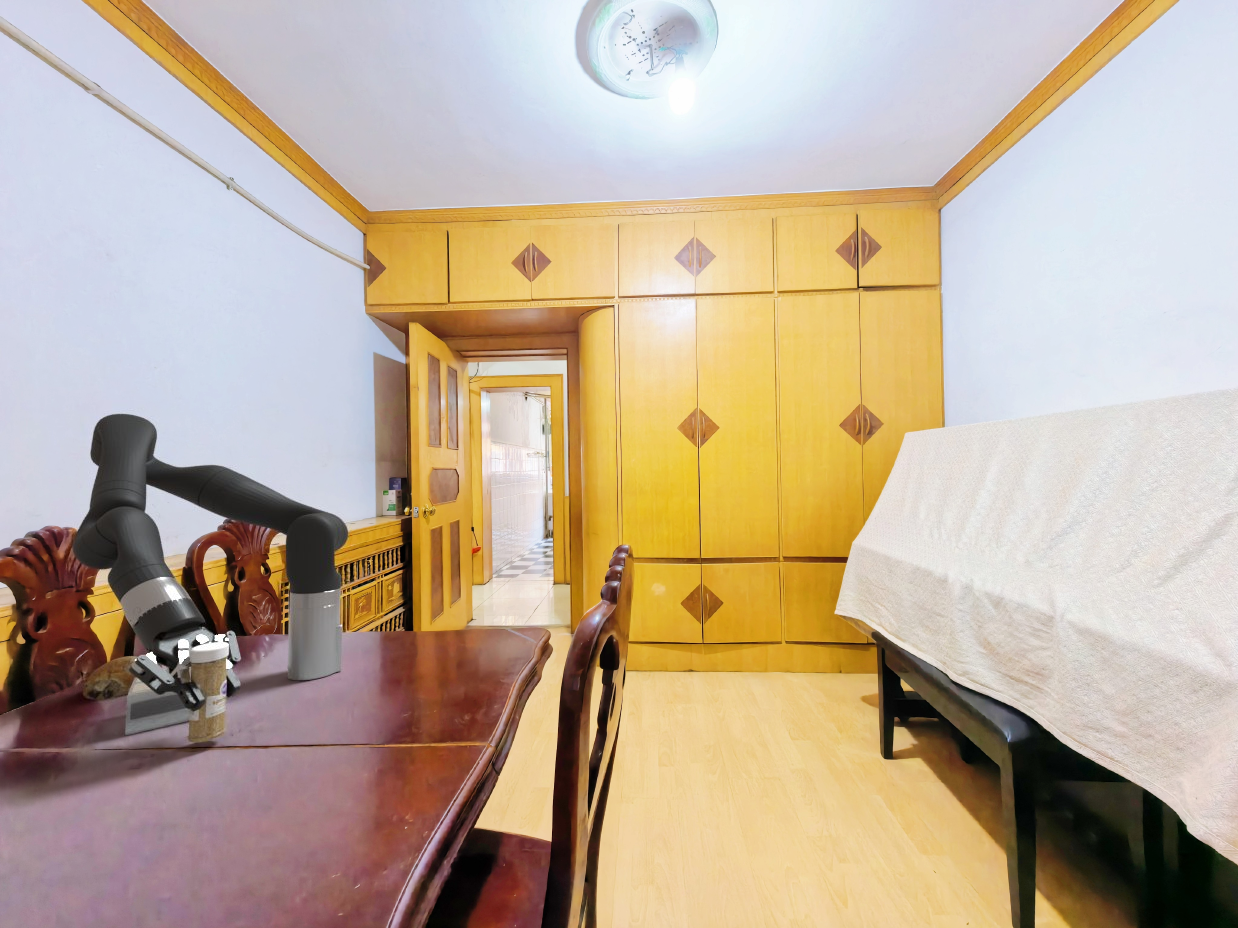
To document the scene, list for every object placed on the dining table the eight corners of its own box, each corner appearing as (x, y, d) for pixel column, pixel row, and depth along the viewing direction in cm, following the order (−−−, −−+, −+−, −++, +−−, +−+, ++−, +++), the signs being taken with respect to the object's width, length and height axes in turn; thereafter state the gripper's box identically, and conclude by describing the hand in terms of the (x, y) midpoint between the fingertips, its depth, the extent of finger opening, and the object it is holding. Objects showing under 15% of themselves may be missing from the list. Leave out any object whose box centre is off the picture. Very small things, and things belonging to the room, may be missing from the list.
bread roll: (156, 706, 97) (178, 662, 100) (94, 702, 88) (121, 654, 92) (125, 699, 100) (147, 657, 104) (62, 695, 92) (89, 649, 95)
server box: (222, 694, 93) (223, 659, 93) (223, 713, 85) (224, 675, 85) (133, 713, 85) (134, 675, 86) (124, 736, 77) (126, 694, 78)
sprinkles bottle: (224, 738, 74) (227, 646, 75) (184, 747, 71) (187, 652, 72) (227, 726, 78) (230, 639, 78) (189, 734, 75) (192, 644, 76)
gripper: (199, 617, 86) (250, 696, 82) (92, 642, 72) (147, 739, 68) (223, 588, 85) (276, 667, 81) (119, 607, 71) (177, 703, 67)
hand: (217, 699), depth 74 cm, fingers closed on sprinkles bottle, 4 cm apart
